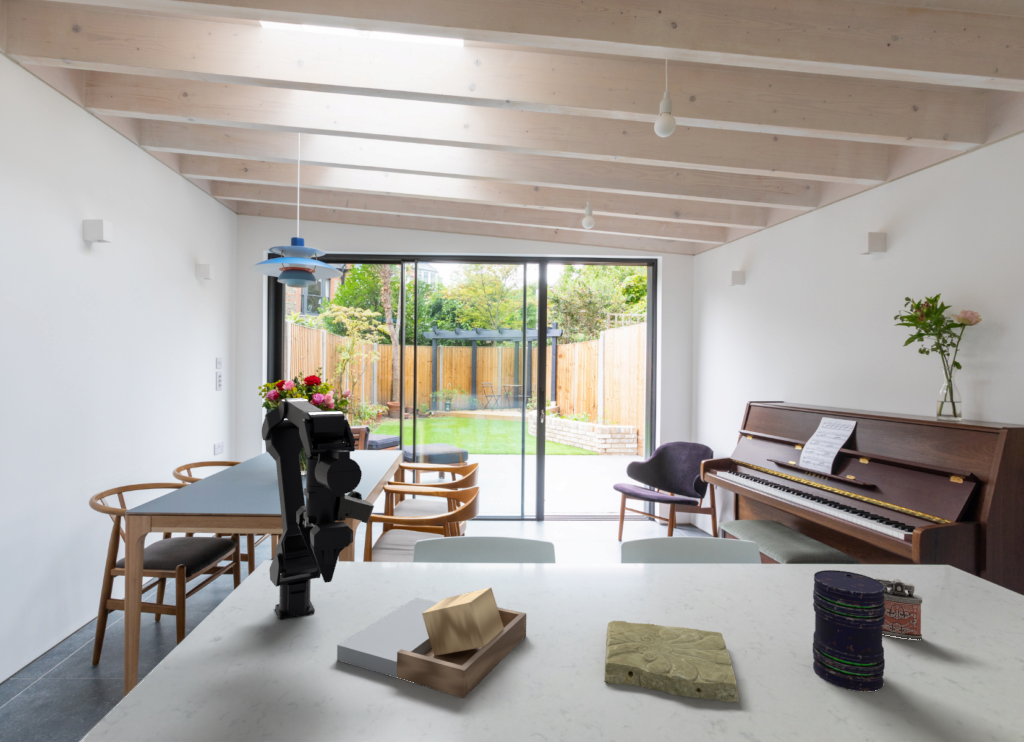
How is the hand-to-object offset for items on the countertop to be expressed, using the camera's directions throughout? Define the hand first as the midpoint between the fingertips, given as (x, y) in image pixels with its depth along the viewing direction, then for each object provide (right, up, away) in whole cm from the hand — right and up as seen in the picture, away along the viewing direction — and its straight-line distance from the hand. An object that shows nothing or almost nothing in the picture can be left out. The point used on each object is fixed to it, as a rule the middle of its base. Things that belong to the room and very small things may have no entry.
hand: (322, 573), depth 99 cm
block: (+21, -9, -2) cm, 22 cm away
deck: (+15, -12, +1) cm, 19 cm away
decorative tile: (+58, -13, -6) cm, 60 cm away
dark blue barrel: (+86, -13, -9) cm, 88 cm away
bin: (+25, -12, -4) cm, 29 cm away
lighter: (+103, -13, +5) cm, 104 cm away
